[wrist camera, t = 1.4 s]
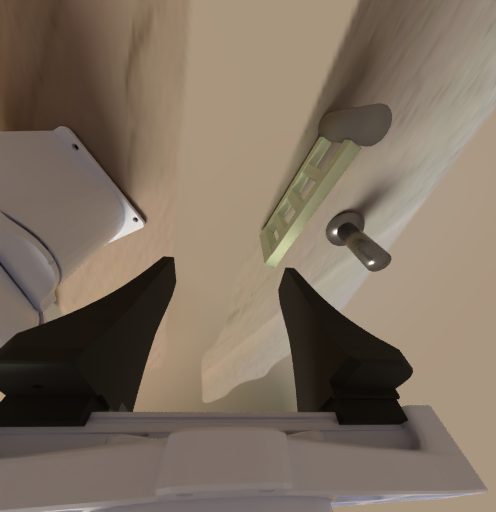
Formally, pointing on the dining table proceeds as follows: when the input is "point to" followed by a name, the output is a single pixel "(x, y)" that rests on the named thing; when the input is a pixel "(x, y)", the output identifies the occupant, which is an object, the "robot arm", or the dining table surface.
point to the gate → (323, 172)
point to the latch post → (357, 240)
